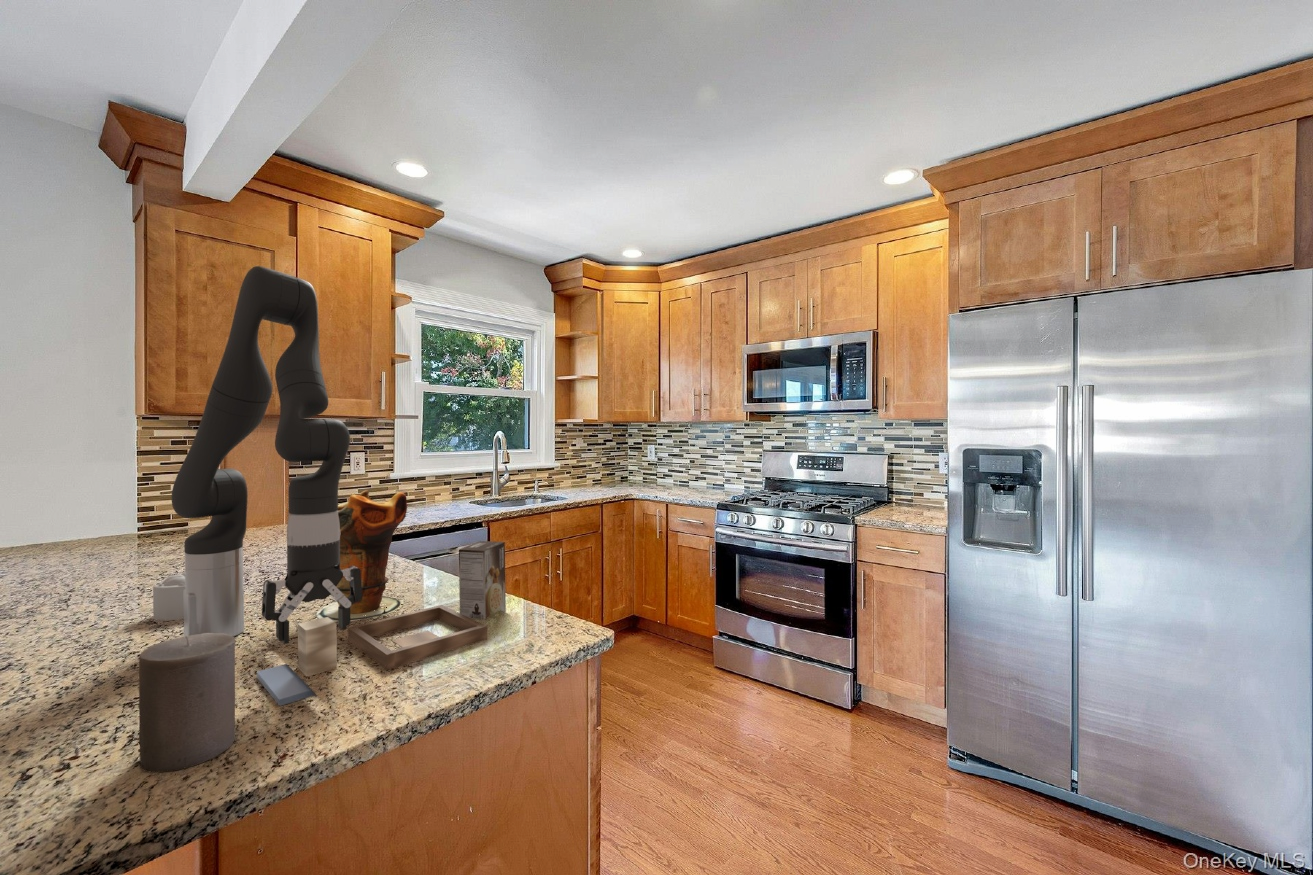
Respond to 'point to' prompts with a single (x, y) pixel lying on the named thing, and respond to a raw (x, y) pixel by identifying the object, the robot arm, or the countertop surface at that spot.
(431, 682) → the countertop surface
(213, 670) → the pillar candle
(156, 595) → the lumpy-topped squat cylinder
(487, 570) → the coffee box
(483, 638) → the brown wooden square frame
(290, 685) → the pad
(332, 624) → the maple block
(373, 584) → the decorative vase
